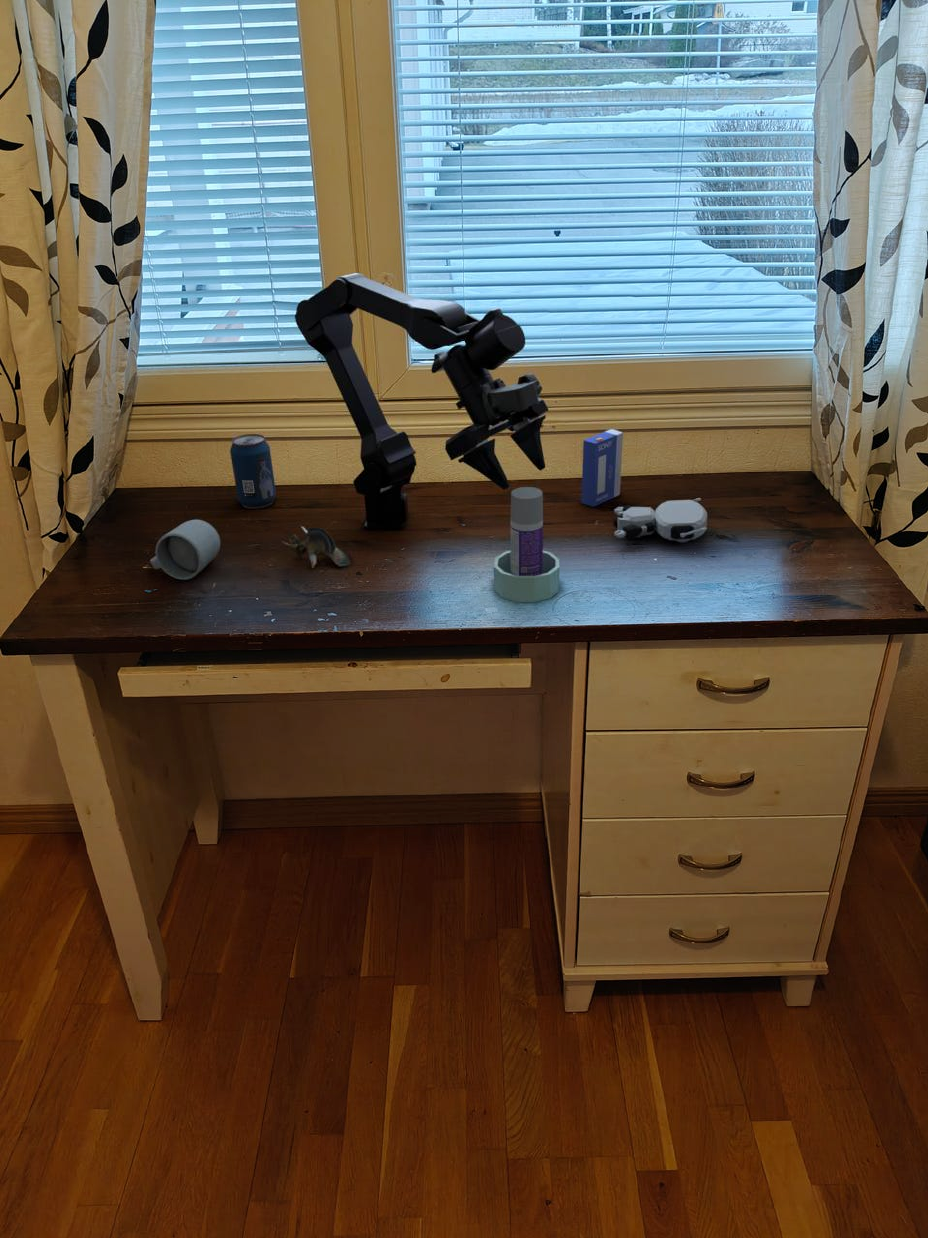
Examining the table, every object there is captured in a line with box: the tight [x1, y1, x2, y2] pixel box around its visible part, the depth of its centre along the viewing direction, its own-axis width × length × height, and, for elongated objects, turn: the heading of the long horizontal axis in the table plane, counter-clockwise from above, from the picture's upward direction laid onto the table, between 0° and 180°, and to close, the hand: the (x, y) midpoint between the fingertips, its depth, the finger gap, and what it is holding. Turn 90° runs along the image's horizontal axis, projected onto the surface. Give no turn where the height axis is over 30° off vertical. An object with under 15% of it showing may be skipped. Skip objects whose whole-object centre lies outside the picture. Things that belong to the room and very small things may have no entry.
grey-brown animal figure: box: [281, 525, 351, 569], centre depth 150 cm, size 8×7×9 cm
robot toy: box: [612, 497, 708, 543], centre depth 155 cm, size 12×4×15 cm
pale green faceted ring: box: [493, 550, 561, 603], centre depth 141 cm, size 10×10×4 cm
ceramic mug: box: [149, 519, 222, 581], centre depth 149 cm, size 11×8×8 cm
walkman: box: [581, 428, 624, 508], centre depth 167 cm, size 8×3×12 cm, turn 134°
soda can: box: [229, 433, 277, 509], centre depth 170 cm, size 7×7×12 cm
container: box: [510, 486, 544, 576], centre depth 138 cm, size 5×5×15 cm
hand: (525, 478), depth 141 cm, fingers open, 9 cm apart
